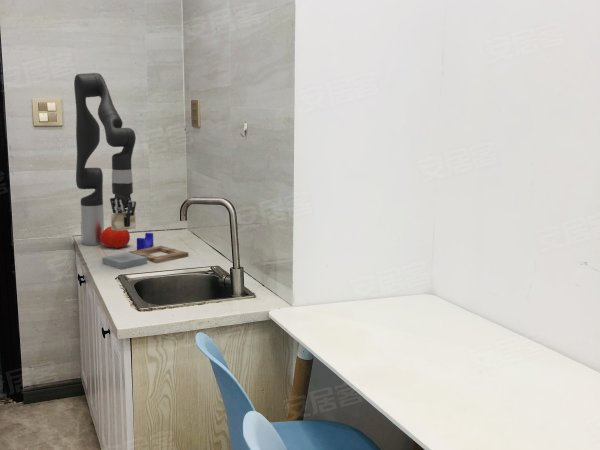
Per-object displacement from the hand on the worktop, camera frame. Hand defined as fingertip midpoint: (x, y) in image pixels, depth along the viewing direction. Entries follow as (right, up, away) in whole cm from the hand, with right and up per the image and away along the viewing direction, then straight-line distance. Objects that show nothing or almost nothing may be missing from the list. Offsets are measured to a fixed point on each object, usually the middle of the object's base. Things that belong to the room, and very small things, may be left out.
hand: (123, 225), depth 238 cm
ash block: (0, -1, 0) cm, 1 cm away
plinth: (0, -15, +3) cm, 15 cm away
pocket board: (+10, -12, +16) cm, 23 cm away
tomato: (-12, -9, +30) cm, 34 cm away
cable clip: (+1, -10, +28) cm, 30 cm away
